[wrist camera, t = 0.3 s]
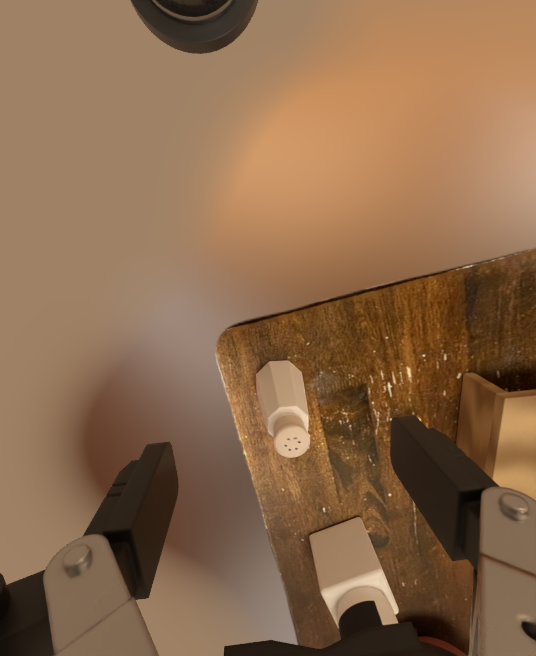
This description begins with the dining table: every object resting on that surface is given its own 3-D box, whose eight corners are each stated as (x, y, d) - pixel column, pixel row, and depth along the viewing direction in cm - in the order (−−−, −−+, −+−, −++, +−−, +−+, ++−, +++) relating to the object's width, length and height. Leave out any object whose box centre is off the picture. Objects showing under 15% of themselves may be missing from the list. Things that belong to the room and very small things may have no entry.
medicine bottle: (326, 571, 42) (355, 695, 31) (307, 533, 40) (332, 651, 29) (375, 553, 42) (424, 671, 30) (359, 514, 40) (405, 625, 28)
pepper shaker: (292, 409, 35) (310, 481, 25) (247, 395, 35) (246, 463, 24) (311, 367, 34) (339, 424, 24) (264, 351, 33) (272, 403, 23)
